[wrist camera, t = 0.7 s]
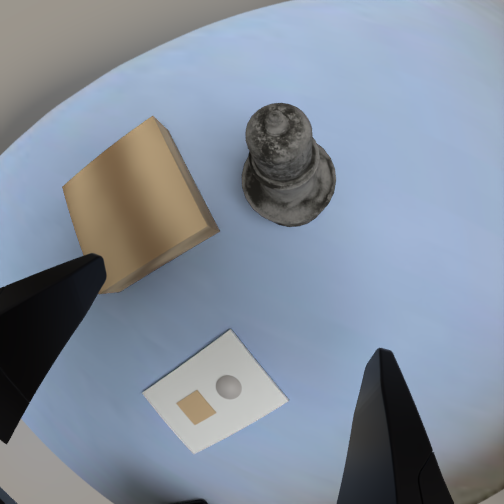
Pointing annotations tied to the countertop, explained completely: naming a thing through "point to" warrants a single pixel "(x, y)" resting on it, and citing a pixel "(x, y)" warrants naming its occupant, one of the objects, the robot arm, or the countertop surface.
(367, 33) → the countertop surface
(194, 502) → the robot arm
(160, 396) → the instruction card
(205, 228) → the base brick
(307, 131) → the weathered stone finial
